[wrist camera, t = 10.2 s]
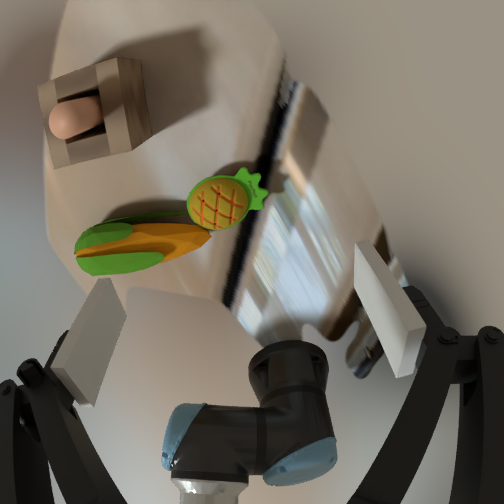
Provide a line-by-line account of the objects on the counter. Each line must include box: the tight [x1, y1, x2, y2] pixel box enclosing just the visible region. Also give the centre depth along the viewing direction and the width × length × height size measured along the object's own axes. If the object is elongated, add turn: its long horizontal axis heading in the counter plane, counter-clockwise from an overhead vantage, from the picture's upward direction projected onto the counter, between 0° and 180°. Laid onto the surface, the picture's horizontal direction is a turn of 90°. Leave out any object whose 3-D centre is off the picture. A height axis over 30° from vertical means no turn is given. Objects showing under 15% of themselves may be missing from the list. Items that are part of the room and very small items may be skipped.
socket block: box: [37, 57, 152, 169], centre depth 31 cm, size 10×10×8 cm
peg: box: [49, 95, 105, 139], centre depth 29 cm, size 4×4×12 cm
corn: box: [74, 212, 212, 276], centre depth 40 cm, size 7×8×20 cm
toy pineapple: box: [187, 167, 269, 230], centre depth 39 cm, size 7×10×5 cm
